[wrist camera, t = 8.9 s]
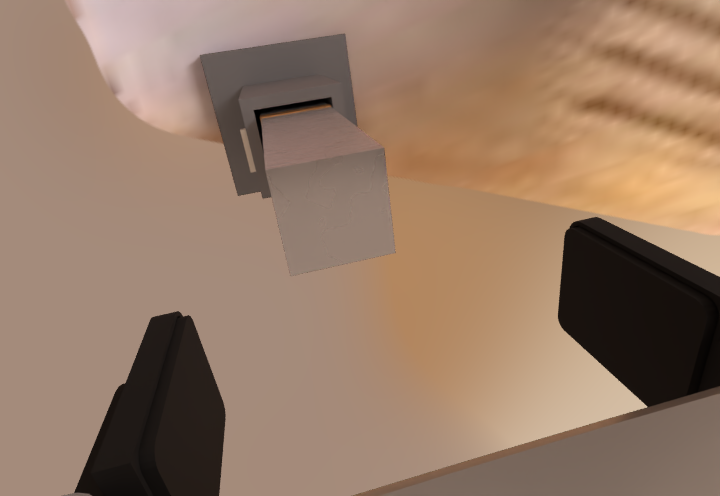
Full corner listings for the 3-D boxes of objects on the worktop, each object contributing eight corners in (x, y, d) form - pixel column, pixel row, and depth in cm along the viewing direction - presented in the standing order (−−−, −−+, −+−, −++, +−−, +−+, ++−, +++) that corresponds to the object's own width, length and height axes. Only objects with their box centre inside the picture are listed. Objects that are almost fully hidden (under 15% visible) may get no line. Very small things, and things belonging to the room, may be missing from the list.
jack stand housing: (342, 34, 41) (378, 27, 29) (360, 167, 46) (396, 209, 35) (201, 55, 39) (177, 57, 27) (238, 191, 45) (232, 243, 33)
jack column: (318, 96, 34) (385, 146, 17) (327, 154, 37) (396, 253, 19) (259, 105, 34) (263, 169, 16) (272, 164, 36) (289, 277, 18)
